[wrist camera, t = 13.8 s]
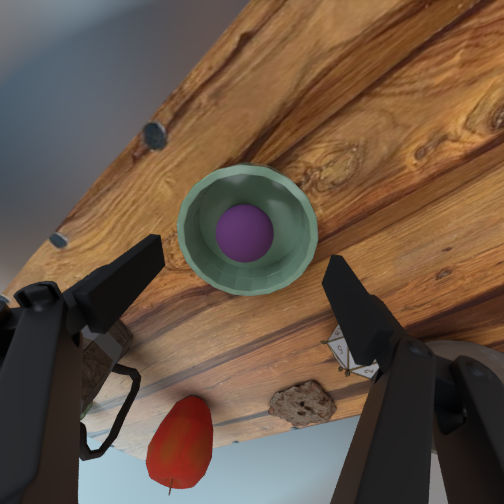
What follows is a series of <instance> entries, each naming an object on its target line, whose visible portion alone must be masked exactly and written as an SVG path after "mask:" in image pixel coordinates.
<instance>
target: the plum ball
mask: <svg viewBox="0 0 504 504" xmlns="http://www.w3.org/2000/svg"><path fill="white" fill-rule="evenodd" d="M273 239H274V229H273V224H272V222H271V220H270V218H269V217H268V215H267V214H266V213H265V212H264V211H263V210H262V209H260V208H258V207H256V206H254V205H249V204H240V205H236V206H233V207H231V208H229V209H228V210H226V211H225V212H224V213H223V214H222V216H221V217H220V219H219V221H218V223H217V226H216V241H217V244H218V246H219V248H220V249H221V251H222V252H223V253H224V254H225V255H226V256H227V257H228V258H230V259H232V260H234V261H237V262H242V263H248V262H253V261H256V260H258V259H260V258H261V257H263V256H264V255H265V254H266V253H267V252H268V250H269V249H270V247H271V245H272V243H273Z"/></svg>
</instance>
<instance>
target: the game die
mask: <svg viewBox="0 0 504 504" xmlns="http://www.w3.org/2000/svg"><path fill="white" fill-rule="evenodd" d="M320 342H321V343H322V344H327V345H328V347H329V348H330V350H331V351H332V353H333V355H334V356H335V358H336V359H337V361H338V363H339V364H340V366H341V367H339V368H338V369H339V371H342V370H343V369H345V370H347V371H346V372H345V375H346V377H347V376H350V372H351V373H354V374H357V375H360V376H363V377H365V378H368V379H371V377H372V376H373V375H374V373H375V372H376V371H377V369H378V368H379V366H378V364H377V362H376V360H374V362H373V363H372V365H371V366H362V365H355V363H354V360H353V358H352V356H351V353H350V351H349V348H348V346H347V344H346V341H345V339H344V336H343V334H342V331H341V329H340V327H339V324H337V326H336V328H335V329H334V331H333V332H332V334H331V336H330V337H329V339H328V340H327V341H320Z"/></svg>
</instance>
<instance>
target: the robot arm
mask: <svg viewBox="0 0 504 504" xmlns="http://www.w3.org/2000/svg"><path fill="white" fill-rule="evenodd" d="M164 266H165V261H164V254H163V248H162V242H161V236H160V235H155V234H150V235H148V236H147V237H146V238H144V239H143V240H142V241H140V242H139V243H138V244H136V245H135V246H133V247H132V248H131V249H129V250H128V251H127V252H125V253H124V254H123V255H121V256H120V257H118V258H117V259H116V260H114V261H113V262H112V263H110V264H109V265H108V264H107V265H104V266H102V267H100V268H97V269H96V270H94V271H93V272H91V273H90V274H89V275H87V276H86V277H84V278H83V280H80V281H79V282H77V283H76V284H74V285H73V286H72V287H70V288H69V289H67V290H66V291H65V292H63V293H61V291H60V289H59V288H58V286H57V284H56V283H55V282H53V281H43V282H38V283H34V284H31V285H28V286H26V287H24V288H22V289H20V290H19V291H17V292H16V293H15V294H14V295H13V296H14V298H15V299H16V301H17V302H18V304H19V305H20V306H21V307H18V308H9V307H8V305H7V304H6V303H5V302H4V301H0V504H78V476H79V446H80V416H81V386H82V356H83V334H82V331H81V330H82V329H83V328H84V327H85V326H86V325H87V326H88V328H89V330H90V332H91V333H99V334H106V333H107V332H108V331H109V329H110V328H111V327H112V326H113V325H114V324H115V322H116V321H117V320H118V319H119V318H120V317H121V316H122V314H123V313H124V312H125V311H126V310H127V309H128V308H129V306H130V305H131V304H132V303H133V302H134V301H135V300H136V298H137V297H138V296H139V295H140V294H141V293H142V291H143V290H144V289H145V288H146V287H147V286H148V285H149V283H150V282H151V281H152V280H153V279H154V278H155V277H156V275H157V274H158V273H159V272H160V271H161V270H162V268H163V267H164ZM322 285H323V288H324V290H325V293H326V295H327V298H328V300H329V302H330V305H331V307H332V310H333V312H334V314H335V317H336V319H337V322H338V324H339V327H340V329H341V331H342V334H343V336H344V339H345V341H346V344H347V346H348V348H349V351H350V353H351V356H352V358H353V360H354V363H355V365H362V366H371V365H372V363H373V362H374V360H376V362H377V364H378V366H379V368H378V369H377V371H376V372H375V373H374V375H373V376H372V377H371V380H372V381H373V382H372V385H371V388H370V391H369V393H368V396H367V399H366V402H365V405H364V408H363V411H362V413H361V416H360V420H359V422H358V425H357V428H356V431H355V434H354V436H353V439H352V442H351V445H350V448H349V451H348V454H347V456H346V459H345V462H344V465H343V468H342V471H341V474H340V476H339V479H338V482H337V485H336V488H335V491H334V494H333V497H332V499H331V503H330V504H428V501H429V483H430V466H431V448H432V432H433V437H434V441H435V446H436V450H437V455H438V459H439V464H440V468H441V473H442V477H443V481H444V486H445V491H446V495H447V500H448V504H504V385H503V383H502V381H501V380H500V379H499V377H498V376H497V375H496V374H495V373H494V372H493V371H492V370H491V369H490V368H489V367H487V366H486V365H485V364H483V363H481V362H480V361H478V360H476V359H474V358H472V357H468V356H465V355H459V356H458V357H457V358H456V359H455V360H454V361H452V360H449V359H446V358H444V357H441V356H438V355H435V354H434V353H433V351H432V350H431V349H430V348H429V347H428V346H427V345H426V344H424V343H423V342H421V341H420V340H418V339H416V338H413V337H410V336H409V335H408V334H407V333H406V331H405V330H404V329H403V327H402V326H401V325H400V323H399V322H398V321H397V320H396V318H395V317H394V316H393V315H392V313H391V312H390V310H388V308H387V306H386V305H385V304H384V303H383V301H381V300H380V299H379V298H378V297H377V296H375V295H370V294H369V293H368V292H367V290H366V289H365V288H364V286H363V285H362V283H361V282H360V281H359V279H358V278H357V276H356V275H355V274H354V272H353V271H352V269H351V268H350V266H349V265H348V264H347V262H346V261H345V259H344V258H343V257H342V256H340V255H331V258H330V261H329V264H328V267H327V270H326V273H325V275H324V278H323V281H322Z"/></svg>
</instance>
